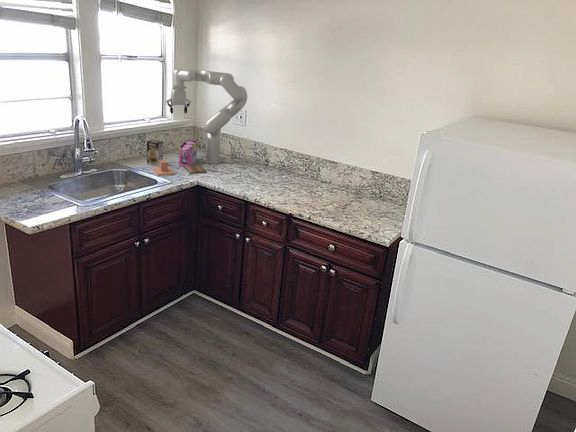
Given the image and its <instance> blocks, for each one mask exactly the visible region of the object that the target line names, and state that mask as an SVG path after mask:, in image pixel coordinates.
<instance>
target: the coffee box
mask: <svg viewBox="0 0 576 432" xmlns="http://www.w3.org/2000/svg"><path fill="white" fill-rule="evenodd" d="M159 160H164V141H161V140H155V139H150V140H146V164H147V165H149V166H155V167H159Z"/></svg>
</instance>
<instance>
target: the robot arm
mask: <svg viewBox="0 0 576 432" xmlns="http://www.w3.org/2000/svg"><path fill="white" fill-rule="evenodd" d="M193 81H194V82H196V81H197V82H203V83H206V84H208V85H214V86H221V87H222V88H223V89H224V91H226V92H227V94H228V95H230V97H231V98H232V99H233V100H231V101H230V102H229V103H228V104H227V105H225V106H224V107H223V108H222V109H220V110H218V111H217V112H216V113H215V114H214V115H212V117H210V118H209V119H208V120H206V122H205V123H204V131H205V132H206V144H205V145H206V147H205V149H206V150H205V158H204V159H203V162H204V163H206V164H210V165H211V164H213V165H216V164H218V165H219V164H221V163H222V160H225V159H226V158H227V157H226V156H225V155H224V156H223V155H221V154H220V150H221V149H220V145H221V131H222V128H223V127H224V126H226V125H227V124H228V123H229V122H230V121H231V120H232V118H234V116H236V115H237V114H238V113H239V112H240V111H242V109H243V108H245V106H246V104H247V101H248V93H247V90H246V87H244V86H241V85H239V84H237V82H235V78H234V76H233V74H232V73H228V72H219V71H213V70H211V71H210V70H202V69H201V70H200V69H194V68H193V69H188V70H187V69H185V70H184V69H181V68H175V69H173V70H172V89H171V90H170V91H171V92H170V98H169V99H167V100H166V101H165V102H166V105H167V106H168V107H169V113H170V114H174V106H183V113H184V114H188V113H187V112H188V108H189V106H190V104H191V103H192V100H189V99H188V98H187V95H186V94H187V93H186V90H185V89H187V86H185V82H187V83H191V82H193Z"/></svg>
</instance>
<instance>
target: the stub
mask: <svg viewBox="0 0 576 432" xmlns="http://www.w3.org/2000/svg"><path fill="white" fill-rule="evenodd" d="M151 169H152V171H153V173H155V175H157V176H158V177H159V176H174V175H175V174H176V173H175V171H173V170H172V169H171V167H170V166H169V164H168V161H167V160H166V159H163V160H159V166H155V167H152V168H151Z"/></svg>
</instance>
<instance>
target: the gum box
mask: <svg viewBox="0 0 576 432" xmlns="http://www.w3.org/2000/svg"><path fill="white" fill-rule="evenodd" d="M197 144H198V143H197V140H190V139H189V140H188V139H187V140H185V141H184V142H183V143H182V144H181V145H180V146H179V148H178V151H179V153H178V167H182V168H184V166H190V165H193V164H194V163H195V162H196V160H197V153H198V152H197V149H198V147H197V146H198V145H197Z"/></svg>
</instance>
